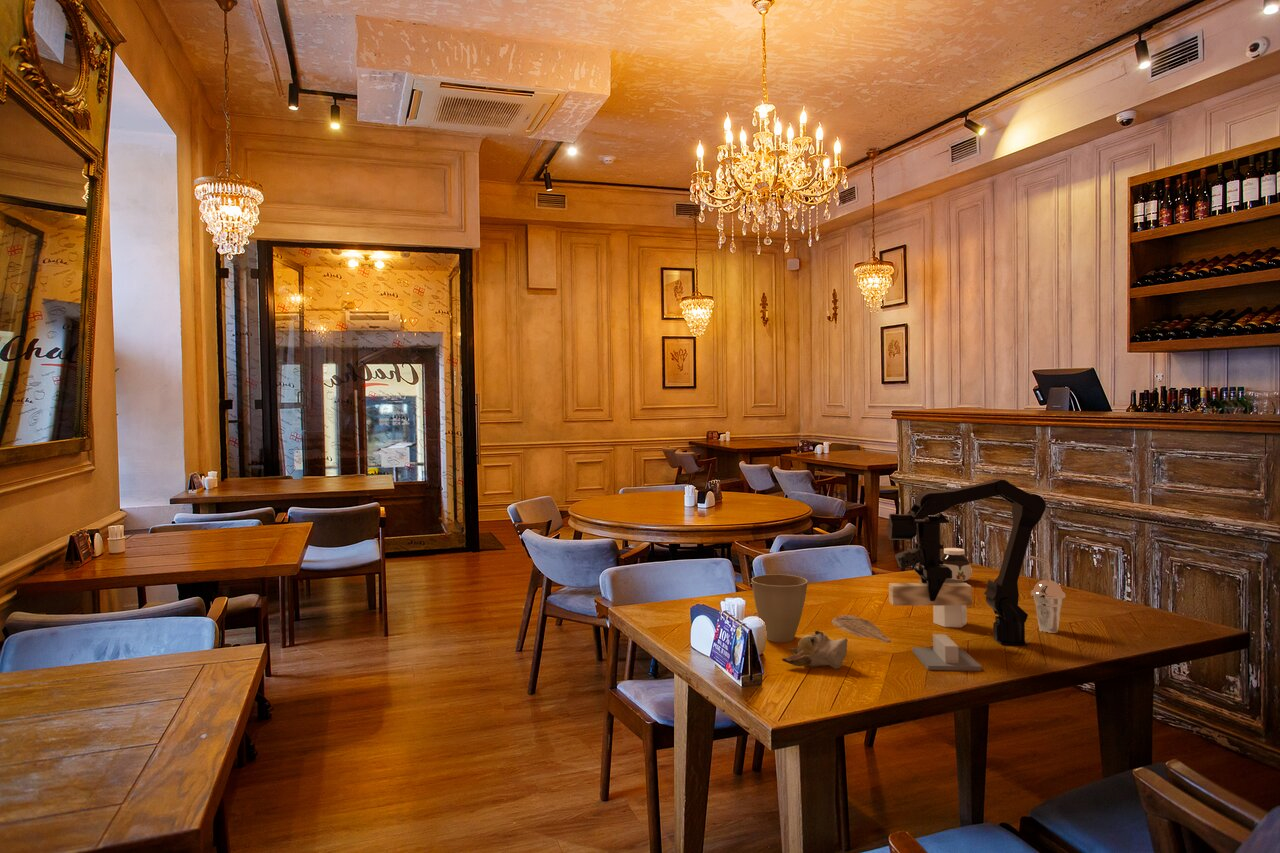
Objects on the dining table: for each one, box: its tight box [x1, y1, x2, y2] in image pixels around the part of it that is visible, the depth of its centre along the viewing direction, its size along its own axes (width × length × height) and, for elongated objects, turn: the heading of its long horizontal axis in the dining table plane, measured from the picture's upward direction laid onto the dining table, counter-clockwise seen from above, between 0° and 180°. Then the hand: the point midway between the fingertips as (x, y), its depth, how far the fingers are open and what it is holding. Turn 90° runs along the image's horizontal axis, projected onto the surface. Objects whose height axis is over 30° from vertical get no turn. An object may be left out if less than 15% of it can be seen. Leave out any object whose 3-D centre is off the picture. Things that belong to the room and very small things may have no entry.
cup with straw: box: [1027, 554, 1067, 634], centre depth 206 cm, size 8×9×20 cm
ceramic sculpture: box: [781, 630, 848, 670], centre depth 181 cm, size 11×9×15 cm
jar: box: [932, 579, 968, 629], centre depth 214 cm, size 9×8×12 cm
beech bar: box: [888, 582, 973, 607], centre depth 198 cm, size 20×4×5 cm, turn 86°
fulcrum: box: [911, 633, 982, 672], centre depth 183 cm, size 12×14×5 cm
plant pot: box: [750, 573, 809, 643], centre depth 203 cm, size 15×15×16 cm
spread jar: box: [941, 547, 973, 583], centre depth 268 cm, size 12×11×12 cm
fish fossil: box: [831, 614, 892, 643], centre depth 210 cm, size 26×10×1 cm, turn 16°
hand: (929, 598), depth 198 cm, fingers closed on beech bar, 4 cm apart
